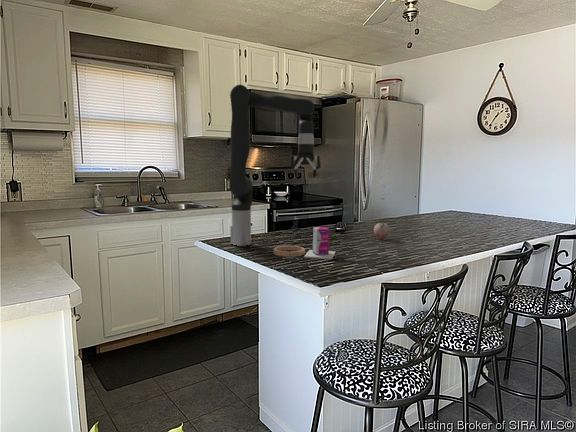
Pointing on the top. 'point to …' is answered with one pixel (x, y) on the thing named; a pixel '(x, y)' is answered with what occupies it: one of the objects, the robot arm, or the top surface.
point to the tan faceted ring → (281, 252)
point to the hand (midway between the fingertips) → (305, 177)
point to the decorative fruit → (381, 230)
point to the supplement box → (320, 241)
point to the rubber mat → (312, 255)
